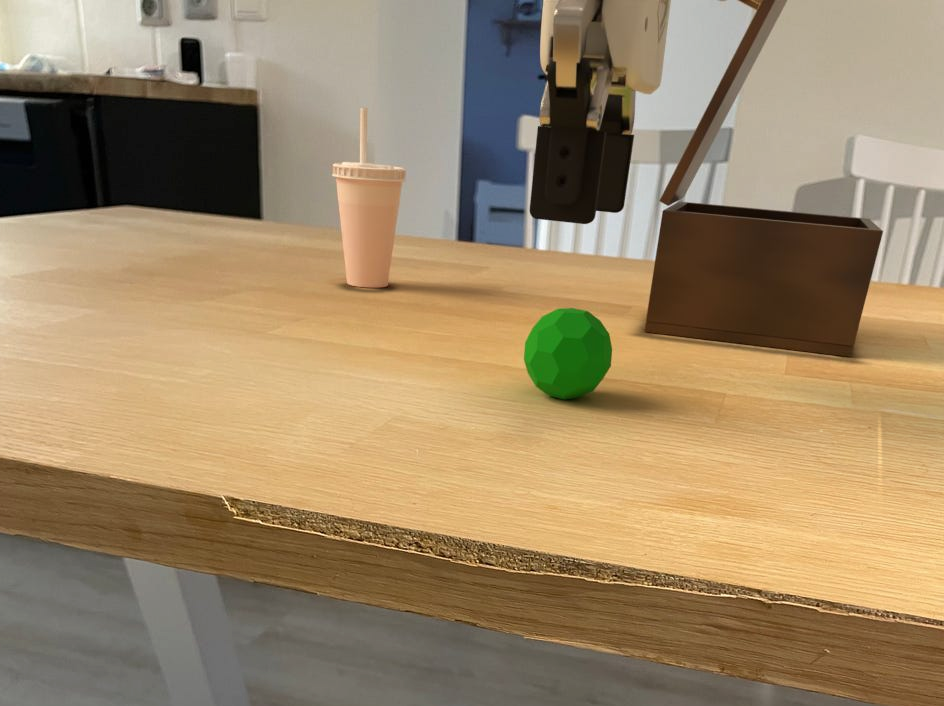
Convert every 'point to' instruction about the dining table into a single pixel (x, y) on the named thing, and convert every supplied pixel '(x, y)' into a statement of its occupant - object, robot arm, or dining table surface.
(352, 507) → the dining table surface
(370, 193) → the smoothie
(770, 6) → the lid
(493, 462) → the dining table surface
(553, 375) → the polyhedron
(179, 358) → the dining table surface
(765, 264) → the chest
